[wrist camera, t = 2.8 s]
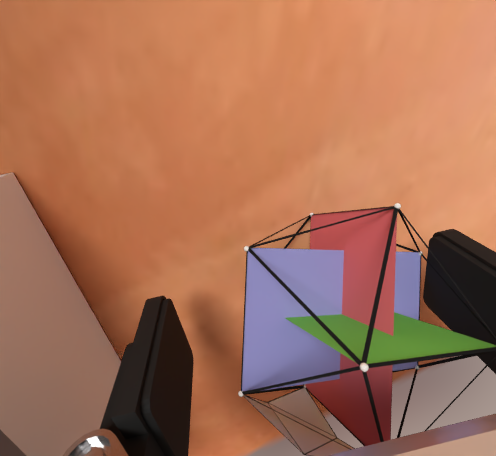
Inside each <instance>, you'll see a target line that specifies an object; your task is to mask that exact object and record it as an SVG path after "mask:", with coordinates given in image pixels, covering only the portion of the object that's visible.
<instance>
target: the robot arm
mask: <svg viewBox="0 0 496 456" xmlns="http://www.w3.org/2000/svg"><path fill="white" fill-rule="evenodd" d="M428 248H429V249H430V250H431V252H432V253H433V254H434V255H435V257H436V258H437V259H438V261H439V262H440V263H441V265H442V266H443V267H444V269H445V270H446V271H447V273H448V274H449V275H450V277H451V278H452V279H453V281H454V282H455V283H456V285H457V286H458V287H459V289H460V290H461V291H462V293H463V294H464V295H465V297H466V298H467V299H468V301H469V302H470V303H471V305H472V306H473V307H474V309H475V310H476V311H477V313H478V314H479V315H480V317H481V318H482V319H483V321H484V322H485V323H486V325H487V326H488V327H489V329H490V330H491V331H492V332H493V334H494V335H495V336H496V252H494V251H492V250H491V249H489V248H487V247H485V246H484V245H482V244H480V243H478V242H476V241H475V240H473V239H471V238H469V237H468V236H466V235H464V234H462V233H461V232H459V231H457V230H455V229H450V230H445V231H441V232H437V233H435V234H434V235H433V237H432V238H431V239H430V240H429V247H428ZM431 252H430V251H429V250H428V257H427V260H428V261H429V263H430V264H431V265H432V266H433V267H434V268H435V269H436V270H437V272H438V273H439V274H440V275H441V276H442V277H443V278H444V280H445V281H446V282H447V283H448V284H449V285H450V286H451V288H452V289H453V290H454V291H455V292H456V293H457V294H458V296H459V297H460V298H461V299H462V300H463V301H464V302H465V304H466V305H467V306H468V307H469V308H470V309H471V310H472V312H473V313H474V314H475V315H476V316H477V317H478V318H479V319H480V317H479V316H478V315H477V313H476V312H475V311H474V309H473V308H472V307H471V305H470V304H469V303H468V301H467V300H466V299H465V297H464V296H463V295H462V294H461V292H460V291H459V290H458V288H457V287H456V286H455V284H454V283H453V282H452V280H451V279H450V278H449V276H448V275H447V274H446V272H445V271H444V270H443V268H442V267H441V266H440V264H439V263H438V262H437V260H436V259H435V258H434V256H433V255H432V254H431ZM429 263H428V262H427V266H426V275H425V285H424V294H423V298H424V301H425V303H426V305H427V306H428V307H429V308H430V309H431V310H432V311H433V312H434V313H435V314H436V315H437V316H438V317H439V318H440V319H441V320H442V321H443V322H444V323H445V324H446V325H447V326H448V327H449V328H450V329H451V330H452V331H453V332H457V333H460V334H463V335H466V336H469V337H472V338H475V339H478V340H481V341H484V342H487V343H490V344H493V345H496V341H495V339H494V338H493V337H492V336H491V335H490V334H489V333H488V331H487V330H486V329H485V328H484V327H483V326H482V324H481V323H480V322H479V321H478V320H477V319H476V318H475V316H474V315H473V314H472V313H471V312H470V311H469V309H468V308H467V307H466V306H465V305H464V304H463V303H462V301H461V300H460V299H459V298H458V297H457V296H456V295H455V293H454V292H453V291H452V290H451V289H450V288H449V286H448V285H447V284H446V283H445V282H444V281H443V280H442V278H441V277H440V276H439V275H438V274H437V273H436V271H435V270H434V269H433V268H432V267H431V266H430V265H429ZM480 321H481V322H482V323H483V321H482V320H481V319H480ZM483 324H484V323H483ZM484 325H485V324H484ZM486 325H485V326H486ZM487 329H488V328H487ZM489 329H488V330H489ZM477 356H478V357H479V358H480V359H481V360H482V361H483V362H484V363H485V364H486V365H487V364H488V363H489V362H490V361H491V360H492V359H493V358H494V357H495V356H496V352H491V353H486V354H482V355H477ZM488 367H489V368H490V369H491V370H492V371H494V373H495V374H496V357H495V358H494V359H493V360H492V362H491V363H490V364H489V365H488ZM192 378H193V354H192V350H191V348H190V345H189V343H188V340H187V338H186V335H185V333H184V330H183V328H182V325H181V322H180V320H179V317H178V315H177V312H176V310H175V307H174V305H173V302H172V300H171V299H166V298H165V297H164V296H159V297H155V298H151V299H147V300H146V302H145V306H144V309H143V312H142V316H141V319H140V322H139V326H138V329H137V332H136V336H135V339H134V342H133V343H130V344H128V345H127V347H126V349H125V352H124V355H123V358H122V361H121V364H120V367H119V370H118V373H117V376H116V379H115V382H114V386H113V389H112V392H111V395H110V398H109V401H108V404H107V407H106V410H105V413H104V416H103V420H102V423H101V426H100V429H97V430H93V431H91V432H89V433H87V434H85V435H83V436H82V437H81V438H79V439H78V440H76V441H75V442H74V443H73V444H72V445H71V446H70V447H69V448H68V449H67V450H66V452H65V453H64V455H63V456H188V448H189V431H190V413H191V396H192ZM329 456H496V414H493V415H489V416H485V417H480V418H476V419H472V420H468V421H464V422H460V423H456V424H452V425H448V426H444V427H440V428H436V429H432V430H428V431H424V432H420V433H416V434H412V435H408V436H404V437H400V438H396V439H392V440H388V441H384V442H380V443H376V444H372V445H368V446H364V447H360V448H356V449H352V450H348V451H344V452H341V453H337V454H333V455H329Z"/></svg>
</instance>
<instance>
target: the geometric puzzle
mask: <svg viewBox="0 0 496 456" xmlns="http://www.w3.org/2000/svg"><path fill="white" fill-rule="evenodd" d="M400 207H401V205H400V204H399V203H396V204H395V205H394V206H391V207H381V208H371V209H361V210H352V211H342V212H332V213H322V214H313V213H310V215H309V216H308V219H307V220H306V221H305V222H304V224H303V225H302V226H301V227H300V229H299V230H298V231H297V232H296V234H293V235H289V236H286V237H282V238H278V239H275V240H271V241H268V242H264V243H260V244H257V243H259V242H261V241H263V240H265V239H267V238H269V237H270V236H272V235H274V234H276V233H278V232H280V231H282V230H284V229H286V228H288V227H290V226H292V225H294V224H296V223H298V222H299V221H298V222H296V223H294V224H292V225H290V226H288V227H286V228H284V229H282V230H280V231H278V232H276V233H274V234H272V235H270V236H269V237H267V238H265V239H263V240H261V241H259V242H257V243H255V244H257V245H255V244H253V245H251V246H249V247H248V246H245V247H244V250H245V251H247V257H246V281H245V304H244V328H243V351H242V375H241V391H239V393H238V395H239V396H240V397H242V396H244V397H245V398H246V399H247V400H248V401H249V402H250V403H251V404H252V405H253V406H254V407H255V408H256V409H257V410H258V411H259V412H260V413H261V414H262V415H263V416H264V417H265V418H266V419H267V420H268V421H269V422H271V423H272V424H273V425H274V426H275V427H276V428H277V429H278V430H279V431H280V432H281V433H282V434H283V435H284V436H285V437H286V438H287V439H288V440H289V441H290V442H291V443H292V444H293V445H294V446H295V447H296V448H297V449H299V450H300V451H301V452H302V453H303V454H304V455H308V456H329V455H333V454H337V453H341V452H344V451H348V450H352V449H355V448H353V447H351V446H350V445H348V444H346V443H345V442H343V441H342V440H340V439H338V438H337V437H336V435H335V433H334V432H333V430H332V428H331V427H330V425H329V424H328V422H327V421H326V419H325V417H324V416H323V414H322V413H321V411H320V410H319V408H318V406H317V405H316V403H315V402H314V400H313V399H312V397H311V396H310V394H309V392H310V393H311V394H312V395H313V396H314V397H315V398H316V399H317V400H318V401H319V402H320V403H321V404H322V405H323V406H324V407H325V408H326V409H327V410H328V411H329V412H330V413H331V414H332V415H333V416H334V417H335V418H336V419H337V420H338V421H339V422H340V423H341V424H342V425H343V426H344V427H345V428H346V429H347V430H349V431H350V433H352V434H353V435H354V436H355V437H356V438H357V439H358V440H359V441H360V442H361V443H362V444H363V445H364V446H368V445H372V444H376V443H380V442H384V441H388V440H390V436H391V402H392V372H397V371H403V370H409V369H416V371H415V374H414V378H413V382H412V385H411V389H410V393H409V396H408V400H407V404H406V407H405V410H404V414H403V418H402V421H401V425H400V429H399V432H398V436H397V438H399V437H400V433H401V430H402V426H403V422H404V419H405V415H406V411H407V407H408V403H409V400H410V396H411V393H412V389H413V385H414V381H415V378H416V374H417V370H419V368H422V367H427V366H431V365H436V364H440V363H445V362H450V361H454V360H458V359H463V358H468V357H472V356H477V355H482V354H486V353H491V352H496V345H493V344H490V343H487V342H484V341H481V340H478V339H475V338H472V337H469V336H466V335H463V334H460V333H457V332H453V331H450V330H447V329H444V328H441V327H438V326H435V325H432V324H429V323H426V322H423V321H420V282H421V255H422V254H423V253H422V252H421V251H420V250H419V248H418V246H417V244H416V242H415V240H414V238H413V236H412V234H411V232H410V230H409V228H408V226H407V224H406V222H405V220H404V218H405V219H406V220H407V218H406V217H405V216H404V214H403V213H402V212H401V210H400V209H399V208H400ZM397 212H399V214H400V216H401V218H402V220H403V222H404V224H405V225H406V227H407V229H408V231H409V233H410V235H411V237H412V239H413V241H414V243H415V245H416V247H417V249H418V251H416V250H413V249H410V248H407V247H404V246H401V245H398V244H396V228H397ZM403 216H404V218H403ZM306 218H307V217H306ZM310 218H311V230H307V231H303V232H300V233H299V231H300V230H301V229H302V228H303V226H304V225H305V224H306V223H307V221H308V220H309V219H310ZM304 219H305V218H304ZM302 220H303V219H302ZM300 221H301V220H300ZM407 222H408V223H409V224H410V222H409V221H408V220H407ZM410 226H411V227H412V228H413V226H412V225H411V224H410ZM413 230H414V231H415V232H416V230H415V229H414V228H413ZM307 232H310V249H286V248H287V246H288V245H289V244H290V243H291V241H292V240H293V239H294V238H295V236H296V235H300V234H303V233H307ZM416 234H417V235H418V236H419V234H418V233H417V232H416ZM289 237H292V239H291V240H290V241H289V242H288V244H287V245H286V246H285V248H284V249H279V248H253V247H257V246H260V245H264V244H267V243H271V242H275V241H278V240H282V239H285V238H289ZM419 238H420V239H421V240H422V238H421V237H420V236H419ZM422 242H423V243H424V244H425V242H424V241H423V240H422ZM396 246H398V247H401V248H404V249H407V250H410V251H413V252H396ZM425 246H426V247H427V248H428V246H427V245H426V244H425ZM428 250H429V251H430V252H431V250H430V249H429V248H428ZM431 254H432V255H433V256H434V258H435V259H436V260H437V262H438V263H439V264H440V266H441V267H442V268H443V270H444V271H445V272H446V274H447V275H448V276H449V278H450V279H451V280H452V282H453V283H454V284H455V286H456V287H457V288H458V290H459V291H460V292H461V294H462V295H463V296H464V297H465V295H464V294H463V293H462V291H461V290H460V289H459V287H458V286H457V285H456V283H455V282H454V281H453V279H452V278H451V277H450V275H449V274H448V273H447V271H446V270H445V269H444V267H443V266H442V265H441V263H440V262H439V261H438V259H437V258H436V257H435V255H434V254H433V253H432V252H431ZM422 256H423V255H422ZM423 258H424V259H425V260H426V261H427V262H428V263H429V261H428V260H427V259H426V258H425V257H424V256H423ZM429 265H430V266H431V267H432V268H433V269H434V270H435V271H436V273H437V274H438V275H439V276H440V277H441V278H442V280H443V281H444V282H445V283H446V284H447V285H448V286H449V288H450V289H451V290H452V291H453V292H454V293H455V295H456V296H457V297H458V298H459V299H460V300H461V301H462V303H463V304H464V305H465V306H466V307H467V308H468V309H469V311H470V312H471V313H472V314H473V315H474V316H475V318H476V319H477V320H478V321H479V322H480V323H481V324H482V326H483V327H484V328H485V329H486V330H487V331H488V333H489V334H490V335H491V336H492V337H493V338H494V339H495V341H496V336H495V335H494V334H493V332H492V331H491V330H490V329H489V327H488V326H487V325H486V323H485V322H484V321H483V319H482V318H481V317H480V315H479V314H478V313H477V311H476V310H475V309H474V307H473V306H472V305H471V303H470V302H469V301H468V299H467V298H466V297H465V299H466V300H467V301H468V303H469V304H470V305H471V307H472V308H473V309H474V311H475V312H476V313H477V315H478V316H479V317H480V319H481V320H482V321H483V323H484V324H485V325H486V326H485V325H484V324H483V323H482V322H481V321H480V319H479V318H478V317H477V316H476V315H475V314H474V313H473V312H472V310H471V309H470V308H469V307H468V306H467V305H466V304H465V302H464V301H463V300H462V299H461V298H460V297H459V296H458V294H457V293H456V292H455V291H454V290H453V289H452V288H451V286H450V285H449V284H448V283H447V282H446V281H445V280H444V278H443V277H442V276H441V275H440V274H439V273H438V272H437V270H436V269H435V268H434V267H433V266H432V265H431V264H430V263H429ZM487 328H488V329H489V330H488V329H487ZM460 355H462V356H460ZM453 356H457V357H453ZM446 357H453V358H449V359H444V360H440V361H436V362H432V363H427V364H423V365H419V366H418V361H424V360H431V359H438V358H446ZM495 357H496V356H495ZM495 357H494V358H495ZM494 358H493V359H494ZM493 359H492V360H493ZM492 360H491V361H490V362H489V363H488V364H487V365H486V366H485V367H484V368H483V370H484V369H485V368H486V367H487V366H488V365H489V364H490V363H491V362H492ZM483 370H482V371H483ZM482 371H481V372H482ZM481 372H480V373H481ZM480 373H479V374H480ZM479 374H478V375H479ZM478 375H477V376H478ZM477 376H476V377H477ZM476 377H475V379H476ZM473 381H474V379H473V380H472V381H471V382H470V383H469V384H468V385H467V387H468V386H469V385H470V384H471V383H472V382H473ZM296 385H303V386H296ZM289 386H293V387H289ZM282 387H283V388H282ZM467 387H466V388H467ZM298 388H300V389H298ZM466 388H465V389H466ZM289 389H298V390H296V391H293V392H291V393H288V394H286V395H283V396H281V397H279V398H276V399H274V400H271V401H269V402H265V401H262V400H258V399H255V398H252V397H249V396H246V394H255V393H263V392H272V391H280V390H289ZM465 389H464V390H465ZM307 390H308V391H309V392H308V391H307ZM464 390H463V391H464ZM463 391H462V392H463ZM462 392H461V393H462ZM461 393H460V394H461ZM460 394H459V395H458V396H457V397H456V398H458V397H459V396H460ZM456 398H455V399H454V400H453V401H452V402H451V403H450V405H451V404H452V403H453V402H454V401H455V400H456ZM450 405H449V406H450ZM449 406H448V407H449ZM448 407H447V408H448ZM447 408H446V409H447ZM446 409H445V410H446ZM445 410H444V411H445ZM444 411H443V412H444ZM443 412H442V413H441V414H440V415H439V416H438V417H437V419H438V418H439V417H440V416H441V415H442V414H443ZM437 419H435V420H434V422H435V421H436V420H437ZM434 422H433V423H434ZM433 423H432V424H433ZM432 424H431V425H432ZM431 425H430V426H431ZM430 426H429V427H430ZM429 427H428V428H429ZM428 428H427V429H428ZM427 429H426V430H425V431H427Z"/></svg>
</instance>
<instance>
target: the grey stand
mask: <svg viewBox="0 0 496 456" xmlns="http://www.w3.org/2000/svg"><path fill="white" fill-rule="evenodd" d="M120 364H121V361H120V359H119V357H118V355H117V354H116V352H115V350H114V348H113V347H112V345H111V343H110V341H109V340H108V338H107V336H106V334H105V333H104V331H103V329H102V327H101V326H100V324H99V322H98V320H97V319H96V317H95V315H94V313H93V312H92V310H91V308H90V306H89V305H88V303H87V301H86V299H85V298H84V296H83V294H82V292H81V291H80V289H79V287H78V285H77V284H76V282H75V280H74V278H73V277H72V275H71V273H70V271H69V270H68V268H67V266H66V264H65V263H64V261H63V259H62V257H61V256H60V254H59V252H58V250H57V249H56V247H55V245H54V243H53V242H52V240H51V238H50V236H49V235H48V233H47V231H46V229H45V228H44V226H43V224H42V222H41V221H40V219H39V217H38V215H37V214H36V212H35V210H34V208H33V207H32V205H31V203H30V201H29V200H28V198H27V196H26V194H25V192H24V191H23V189H22V187H21V185H20V184H19V182H18V180H17V178H16V177H15V175H14V173H13V172H12V173H8V174H3V175H0V456H63V455H64V453H65V452H66V450H67V449H68V448H69V447H70V446H71V445H72V444H73V443H74V442H75V441H76V440H78V439H79V438H81V437H82V436H83V435H85V434H87V433H89V432H91V431H93V430H97V429H100V426H101V423H102V420H103V416H104V413H105V410H106V407H107V404H108V401H109V398H110V395H111V392H112V389H113V386H114V382H115V379H116V376H117V373H118V370H119V367H120Z"/></svg>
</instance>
